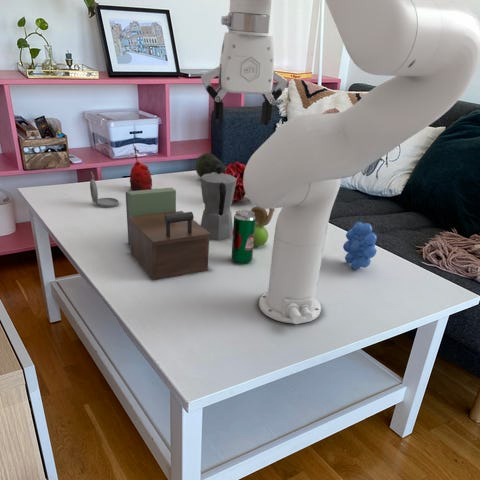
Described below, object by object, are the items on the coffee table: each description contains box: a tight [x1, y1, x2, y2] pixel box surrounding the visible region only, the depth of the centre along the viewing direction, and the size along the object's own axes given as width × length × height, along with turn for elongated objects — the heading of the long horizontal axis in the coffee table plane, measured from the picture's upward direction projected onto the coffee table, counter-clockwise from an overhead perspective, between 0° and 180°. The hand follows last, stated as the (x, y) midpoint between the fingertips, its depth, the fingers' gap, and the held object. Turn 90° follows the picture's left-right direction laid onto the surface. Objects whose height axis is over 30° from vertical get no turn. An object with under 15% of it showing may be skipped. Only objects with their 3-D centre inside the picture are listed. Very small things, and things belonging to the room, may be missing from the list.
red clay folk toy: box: [129, 144, 153, 191], centre depth 154 cm, size 8×7×15 cm
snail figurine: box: [250, 205, 276, 247], centre depth 123 cm, size 5×6×12 cm
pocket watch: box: [89, 170, 119, 208], centre depth 142 cm, size 8×8×10 cm
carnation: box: [195, 152, 246, 203], centre depth 159 cm, size 16×18×35 cm
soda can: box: [230, 209, 256, 265], centre depth 114 cm, size 5×5×12 cm
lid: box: [129, 210, 211, 245], centre depth 108 cm, size 16×13×5 cm
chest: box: [129, 221, 210, 281], centre depth 112 cm, size 15×13×8 cm
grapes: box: [342, 221, 378, 271], centre depth 115 cm, size 12×7×12 cm, turn 19°
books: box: [125, 187, 177, 246], centre depth 118 cm, size 5×11×14 cm, turn 120°
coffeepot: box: [199, 166, 237, 241], centre depth 125 cm, size 15×9×18 cm, turn 10°
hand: (242, 123), depth 99 cm, fingers open, 9 cm apart
